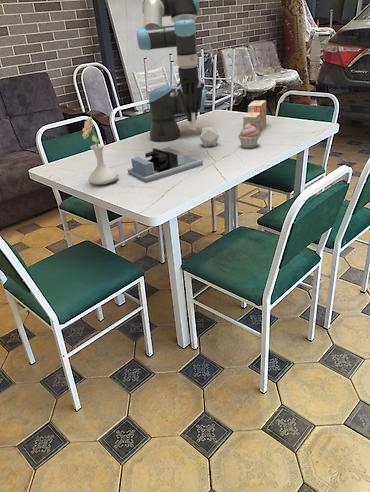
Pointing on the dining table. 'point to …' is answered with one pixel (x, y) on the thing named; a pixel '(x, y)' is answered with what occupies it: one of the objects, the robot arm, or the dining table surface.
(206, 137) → the die
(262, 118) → the stack of blocks
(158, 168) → the end cap
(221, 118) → the dining table surface
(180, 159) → the block
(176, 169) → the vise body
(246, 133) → the cupcake
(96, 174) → the flower in vase
